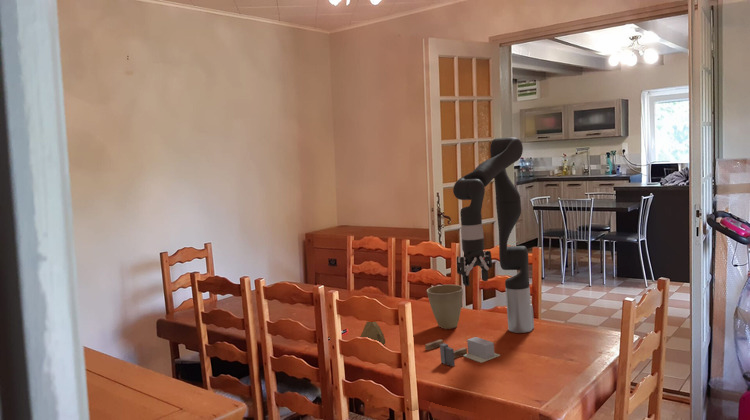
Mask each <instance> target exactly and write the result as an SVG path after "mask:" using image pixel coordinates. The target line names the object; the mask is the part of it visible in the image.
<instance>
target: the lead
mask: <svg viewBox="0 0 750 420" xmlns="http://www.w3.org/2000/svg"><path fill="white" fill-rule="evenodd" d="M466 342H467V354H468V353H469V354H472V355H475V356H477V357H480V358H483V359H486V360H487V359H489V358H492V357H495V354H494V353H495V344H494V343H495V342H493V341H490V340H487V339H483V338H480V337H478V336H475V337H474V336H473V337H471V338H468V339H467V340H466ZM495 358H496V357H495ZM487 361H488V360H487Z"/></svg>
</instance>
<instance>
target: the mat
mask: <svg viewBox="0 0 750 420" xmlns="http://www.w3.org/2000/svg"><path fill="white" fill-rule="evenodd" d="M494 354H495V357H492V358H489V359H487V360H486V359H483V358H480V357H477V356H475V355H472V354H469V353H468V352H467V354H465V355H463V356H462V357H464V358H467V359H469V360H472V361H475V362H477V363H479V364H480V363H484V362H487V361H489V360H492V359H495V358H498V357H500V356H501V354H499V353H496V352H494Z"/></svg>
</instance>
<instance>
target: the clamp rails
mask: <svg viewBox="0 0 750 420" xmlns="http://www.w3.org/2000/svg"><path fill="white" fill-rule="evenodd" d="M443 343H444V340H443V339H440V338H439V339H437V340H435V341H431V342H428V343H425V344H424V350H425V349H426V351H427V350H428V351H431V350H433V349H434V350H435V349H436V348H440V344H443ZM430 349H431V350H430ZM465 354H468V347H467V348H466V347H460V348H458V349H456V350H455V349H454V359H456V358H459V357H464V356H463V355H465Z"/></svg>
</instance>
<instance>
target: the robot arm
mask: <svg viewBox="0 0 750 420" xmlns="http://www.w3.org/2000/svg"><path fill="white" fill-rule="evenodd" d="M489 149H490V150H489V151H490V152H489V153H490V158H488V159H486V160H484V161H483V162H481V163H480V164H479V165H477V166H476V167H475V168H474V169H473V170H472V171H471V172H469V173H467V174H465V175H463V176H462V177H460V178H459V179H457V180H456V181H455V182H454V185H453V188H452V192H453V195H454V197H455V198H456V199H458V200H459V201H460V200H461V201H470V200H471V201H470V204H469V206H465V207H463V208H461V209H460V211H459V212H460V214H459V216H460V226H461V227H460V234H461V245H462V246H461V248H462V249H461V250H462V252H463V256H456V273H457V274H458V275H461V276H462V283H463V284H462V285H463V286H465V287H470V283H471V282H470V275H469V274H470V272H471V270H472V269H473V268H475V267H480V269H481V281H482V282H488V280H489V269H491V268H492V267H493V260H492V259H493V258H492V252H491V250H485V239H484V238H485V235H484V227H483V223H482V222H483V218H482V208H483V201H484V197H485V192H486V187H487V186H488V185H489V184H490V183H491V182H492V181H493V180H494V190H495V206H496V207H495V208H496V216H497V217H496V218H497V225H498V226H497V228H498V255H499V257H498V258H499V265H500V267H501V270H504V271H519V273H517V274H516V275H513V276H510V277H508V278H507V279H505V281H504V285H505V286H504V287H505V300H506V313H507V314H506V315H507V326H508V327H507V330H508V331H509V332H512V333H514V334H515V333H517V334H522V333H529V332H532V331H533V329H535V322H534V308H533V307H534V306H533V304H532V303H531V302H532V301H531V289H530V274H529V273H530V272H529V250H528V248H527V247H526V245H510V246H508V242H509V238H510V235H511V233H512V231H513V229H514V227H515V226H516V224H517V222H518V221H519V219H520V217H521V214H522V201H521V195H520V193H519V191H518V189H517V188H516V186H515V184H514V183H513V182H512V180H511V179H510V177H509V175H508V173H507V168H509V167H510V166H512V165H513V164H514V163H516V162H518V161H519V160H520V159H521V158H522V155H523V153H524V151H523V150H524V146H523V143H522V140H521V139H520V138H518V137H511V136H510V137H499V138H498V137H496V138H494V139H493V140H492V141H491V143H490V147H489Z"/></svg>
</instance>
